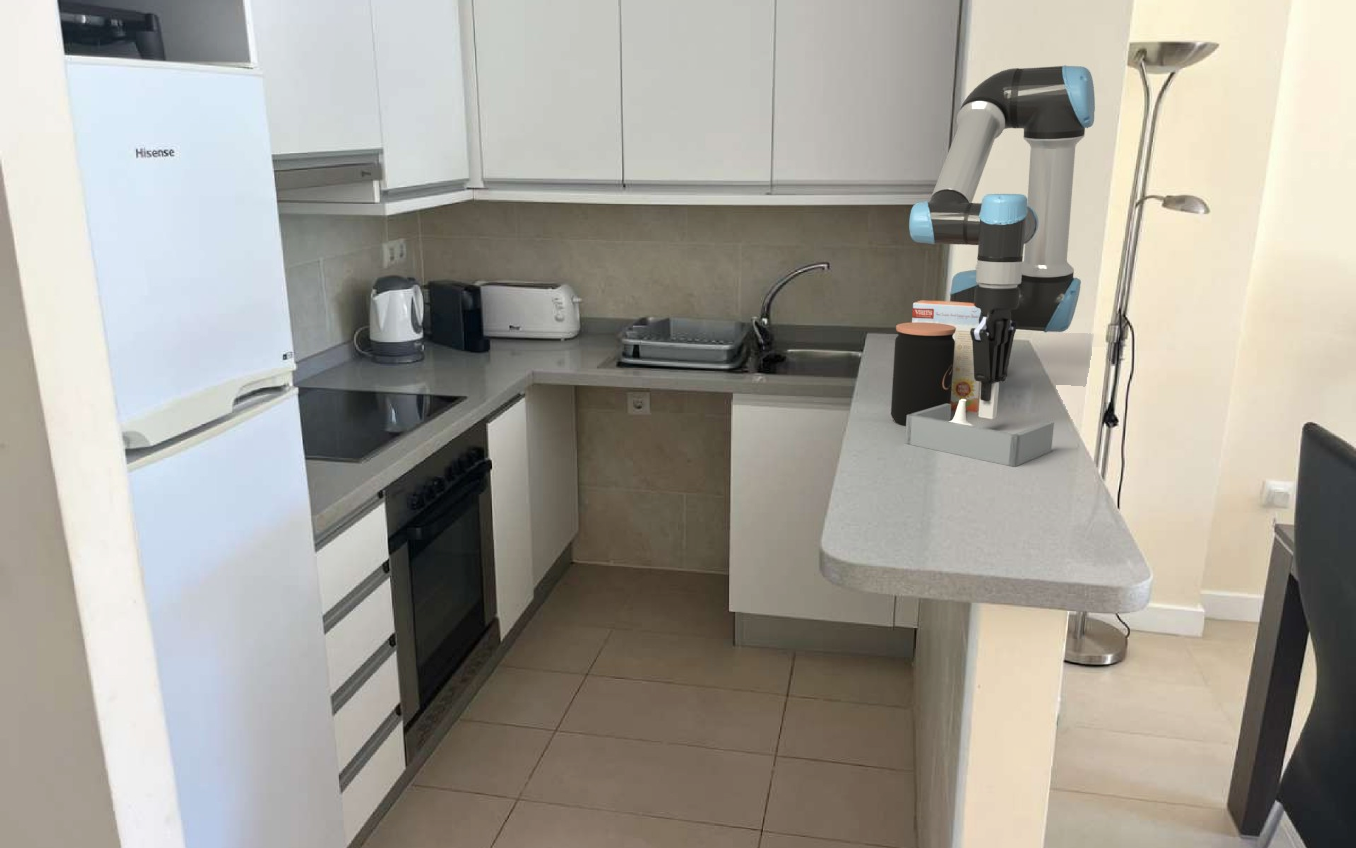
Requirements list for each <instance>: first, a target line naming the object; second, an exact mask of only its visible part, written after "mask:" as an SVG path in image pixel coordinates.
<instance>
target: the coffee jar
mask: <svg viewBox="0 0 1356 848" xmlns="http://www.w3.org/2000/svg"><path fill="white" fill-rule="evenodd" d="M895 330H896V332H897V333H898V335H897V336H896V338H895V339H894V354H893V372H892V388H891V389H892V390H891V404H890V407H891V408H890V416H891V417H892V419H893V421H894V423H896V424H897V425H900V426H902V427H906V421H907V415H909V414H912V413H915V412H919V411H922V410H926V409H929V408H932V407H936V406H939V405H943V404H946V403H947V404H951V391H952V377H953V363H954V349H955V340H954V339H953V334H954V333H955V331H956V327H954V326H951V325H946V324H939V323H925V322H913V323H912V322H903V323H898V324H897V325H896V326H895Z"/></svg>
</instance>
